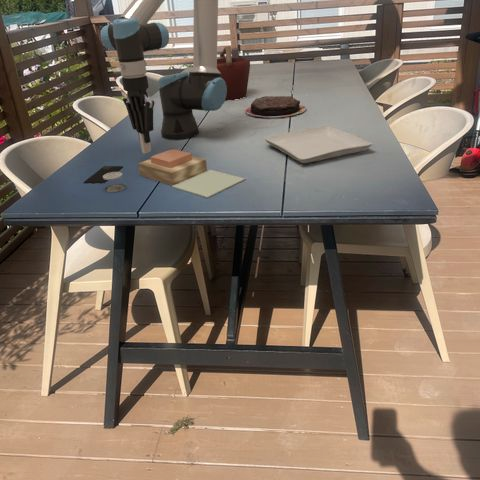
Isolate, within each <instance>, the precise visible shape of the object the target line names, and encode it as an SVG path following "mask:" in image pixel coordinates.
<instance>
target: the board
mask: <svg viewBox="0 0 480 480" xmlns="http://www.w3.org/2000/svg"><path fill="white" fill-rule="evenodd" d="M137 165H138V171H139V172H138V173H139V176H141V177H144V178H146V179H150V180H153V181H157V182H159V183H163V184H166V185H170V186H171V187H172V186H173V185H175V184H178V183H180V182H182V181H185V180H187V179H189V178H192V177H194V176H196V175H199V174H201V173H203V172H206V171H208V167H207V159H206V158H201V157H198V156H193V155H192V160H190V161H188V162H185V163H183V164H180V165H178V166H175V167H173V168H168V167H164V166H160V165H157V164H153V163H151V158H149V159H146V160H144V161H141V162H139V163H137Z"/></svg>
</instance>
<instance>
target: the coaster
mask: <svg viewBox="0 0 480 480" xmlns="http://www.w3.org/2000/svg"><path fill="white" fill-rule="evenodd" d="M192 156H193V155H192V153H191V152H186V151H183V150H179V149H174V148H171V149H168V150H166V151H162V152H160V153H157V154H154V155H152V156H150V158H149V159H151V163H153V164H157V165H160V166H164V167H168V168H173V167H175V166H178V165H180V164H183V163H185V162H188V161H190V160H192Z"/></svg>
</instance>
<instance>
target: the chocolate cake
mask: <svg viewBox="0 0 480 480" xmlns="http://www.w3.org/2000/svg"><path fill="white" fill-rule="evenodd" d="M244 111H245V112H244V113H245V114H246V115H247V114H248V115H247V116H249V117H252V118H254V117H255V118H254V119H271V118H276V119H286V118H292V117H293V118H294V117H297V115H298V116H300V114H301V115H302V114H303V113H304V112H305V111H307V108H306V106H305V105H303V104H301V101H300V100H297V99H296V98H295V97H293V96H284V95H283V96H282V95H280V96H279V95H278V96H274V95H270V96H267V95H266V96H262V97H260V98H259V97H258V98H255V100H253V101H252V102H251V104H250V106H249V107H247V108H246V109H245V110H244Z"/></svg>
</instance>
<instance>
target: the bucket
mask: <svg viewBox="0 0 480 480" xmlns="http://www.w3.org/2000/svg"><path fill="white" fill-rule="evenodd" d="M232 53H233V52H232V48H231V46H224V48H223V50H222V51H221V52H220V53H219V58H217V69H218V70H219V71H220V73H221V78H222V79H223V80H224V81H225V83H226V84H225V85H226V86H227V94H226V99H225V101H224V102H228V101H227V100H231V101H236V100H235V99H239V100H241V99H240V98H242V99H244V98H243V97H245V98H246V97H247V92H248V86H249V85H248V84H249V77H250V70H251V59H249V58H247V57H232Z"/></svg>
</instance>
